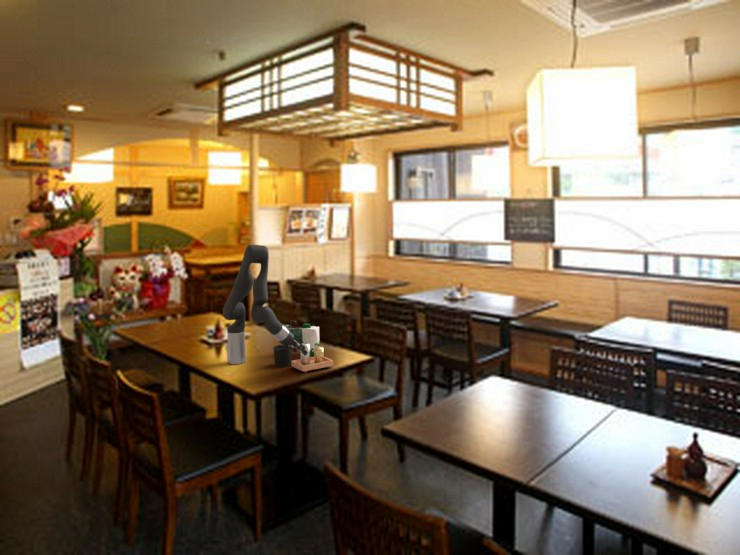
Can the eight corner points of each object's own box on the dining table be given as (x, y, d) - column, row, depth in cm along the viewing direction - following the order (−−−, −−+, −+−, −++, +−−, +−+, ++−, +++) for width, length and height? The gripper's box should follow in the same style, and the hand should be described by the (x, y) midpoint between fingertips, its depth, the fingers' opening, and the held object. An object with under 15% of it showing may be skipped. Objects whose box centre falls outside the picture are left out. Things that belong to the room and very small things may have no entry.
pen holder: (288, 361, 298) (287, 343, 296) (294, 365, 289) (293, 347, 288) (271, 364, 293) (271, 346, 292) (277, 368, 285) (276, 349, 284)
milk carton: (306, 356, 307) (305, 322, 305) (321, 357, 305) (320, 322, 303) (301, 360, 299) (300, 325, 296) (317, 361, 297) (316, 325, 295)
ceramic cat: (279, 354, 313) (278, 320, 311) (284, 351, 319) (282, 318, 317) (312, 356, 308) (311, 321, 306) (315, 353, 315) (314, 319, 312)
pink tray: (302, 373, 274) (302, 366, 274) (291, 368, 285) (291, 360, 284) (333, 367, 284) (333, 360, 284) (321, 362, 295) (321, 355, 294)
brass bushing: (317, 364, 283) (316, 349, 282) (312, 362, 287) (312, 347, 286) (325, 362, 286) (325, 347, 285) (320, 360, 290) (320, 345, 289)
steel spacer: (303, 366, 279) (302, 345, 277) (298, 364, 283) (298, 343, 281) (311, 365, 281) (311, 344, 280) (307, 362, 285) (306, 342, 284)
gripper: (295, 330, 267) (313, 348, 276) (278, 326, 277) (296, 344, 286) (286, 342, 264) (306, 361, 273) (270, 338, 274) (289, 356, 283)
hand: (301, 352), depth 280 cm, fingers open, 8 cm apart
